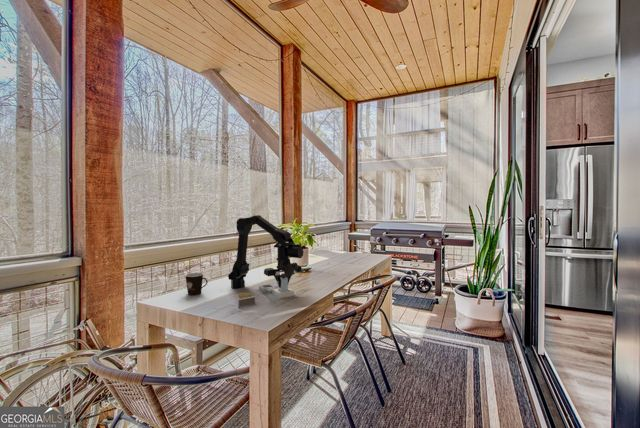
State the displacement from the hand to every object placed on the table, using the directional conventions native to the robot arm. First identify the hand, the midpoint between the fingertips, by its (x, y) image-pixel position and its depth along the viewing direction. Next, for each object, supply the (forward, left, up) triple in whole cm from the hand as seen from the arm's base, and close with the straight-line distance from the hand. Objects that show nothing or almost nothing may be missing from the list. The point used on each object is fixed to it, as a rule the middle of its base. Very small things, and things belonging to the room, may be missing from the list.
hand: (283, 287), depth 154 cm
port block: (0, 0, -4) cm, 4 cm away
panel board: (-2, +4, -5) cm, 7 cm away
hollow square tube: (-4, +10, -4) cm, 12 cm away
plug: (0, 0, -3) cm, 3 cm away
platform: (-20, -3, -6) cm, 21 cm away
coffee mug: (-36, +28, -5) cm, 47 cm away
